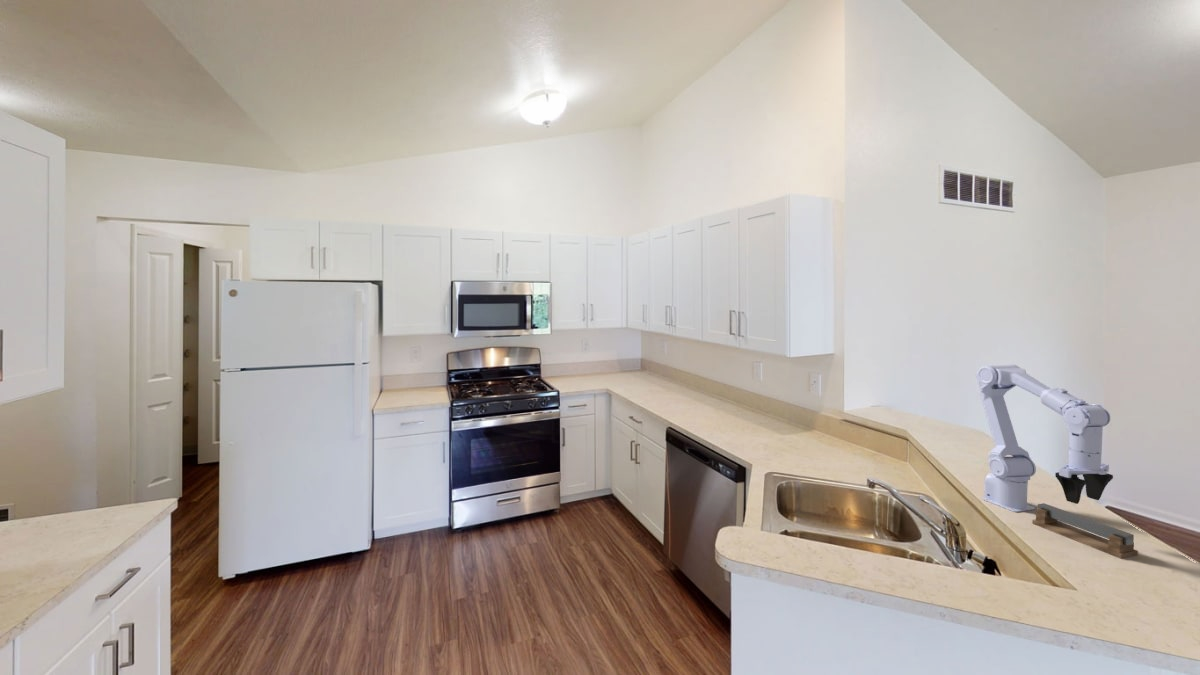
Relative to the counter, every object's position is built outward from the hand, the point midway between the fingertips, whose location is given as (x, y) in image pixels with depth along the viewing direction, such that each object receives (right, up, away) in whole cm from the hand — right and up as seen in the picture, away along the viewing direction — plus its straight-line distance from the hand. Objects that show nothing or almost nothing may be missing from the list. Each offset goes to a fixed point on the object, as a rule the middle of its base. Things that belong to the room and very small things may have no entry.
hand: (1082, 500), depth 114 cm
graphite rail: (0, -7, +1) cm, 7 cm away
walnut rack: (0, -10, +1) cm, 10 cm away
